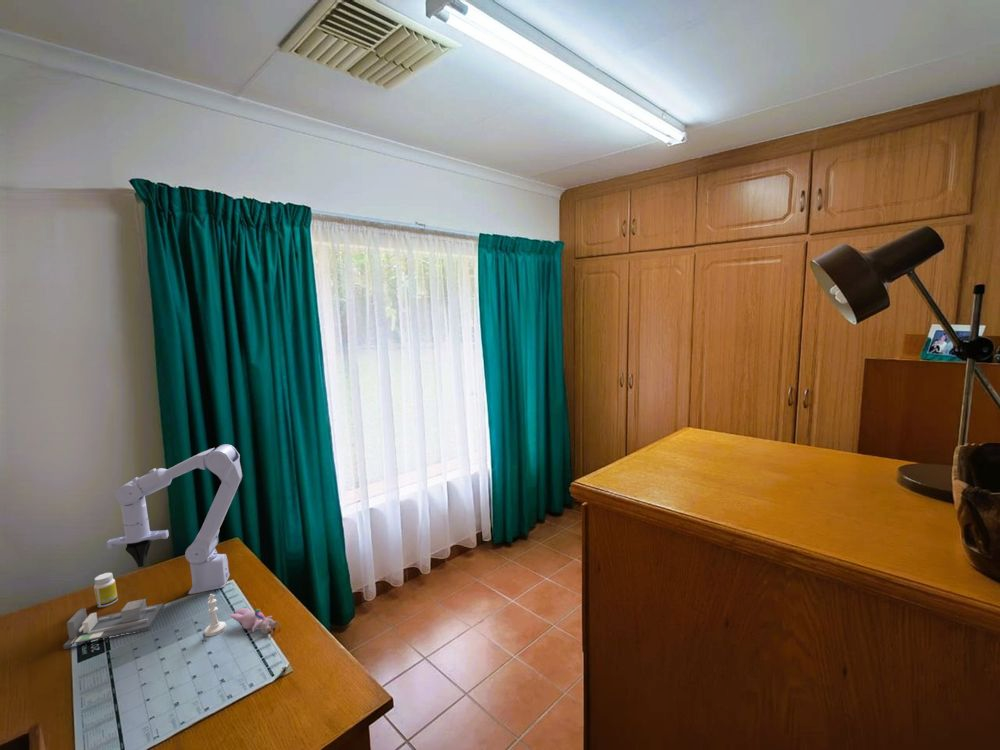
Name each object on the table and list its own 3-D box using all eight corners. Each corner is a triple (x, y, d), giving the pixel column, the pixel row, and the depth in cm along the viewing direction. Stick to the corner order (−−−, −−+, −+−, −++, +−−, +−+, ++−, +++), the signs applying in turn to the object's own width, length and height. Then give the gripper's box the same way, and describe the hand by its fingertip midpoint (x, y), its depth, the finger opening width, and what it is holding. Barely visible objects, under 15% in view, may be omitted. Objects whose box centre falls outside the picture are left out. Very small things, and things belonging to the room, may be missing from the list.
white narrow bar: (97, 621, 122) (96, 612, 122) (83, 638, 115) (82, 628, 115) (92, 623, 122) (90, 613, 121) (78, 639, 115) (76, 629, 115)
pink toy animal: (285, 629, 119) (242, 611, 124) (286, 609, 118) (242, 592, 123) (266, 645, 113) (221, 626, 118) (267, 624, 112) (221, 605, 117)
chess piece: (230, 626, 119) (226, 590, 118) (212, 638, 115) (207, 601, 114) (218, 621, 121) (214, 587, 120) (200, 633, 117) (195, 597, 116)
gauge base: (164, 606, 130) (161, 588, 129) (149, 629, 120) (146, 610, 119) (86, 623, 124) (83, 604, 123) (63, 649, 114) (60, 628, 113)
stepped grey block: (147, 611, 126) (145, 598, 125) (140, 620, 122) (138, 607, 121) (114, 618, 123) (112, 605, 123) (106, 628, 119) (104, 614, 119)
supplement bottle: (122, 598, 135) (118, 571, 134) (107, 608, 130) (103, 580, 130) (107, 598, 136) (103, 571, 135) (92, 607, 131) (88, 580, 130)
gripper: (169, 512, 139) (175, 553, 141) (112, 521, 134) (118, 564, 136) (161, 521, 132) (167, 564, 134) (100, 530, 128) (107, 575, 129)
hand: (142, 565), depth 134 cm, fingers closed
